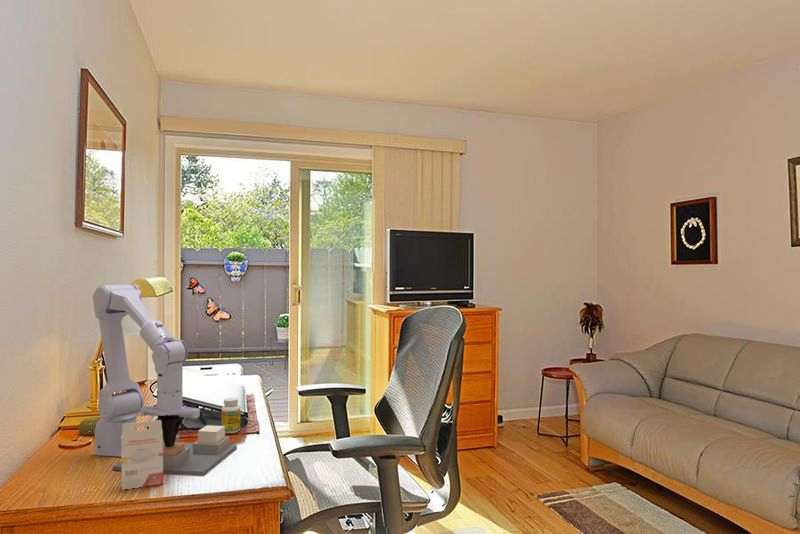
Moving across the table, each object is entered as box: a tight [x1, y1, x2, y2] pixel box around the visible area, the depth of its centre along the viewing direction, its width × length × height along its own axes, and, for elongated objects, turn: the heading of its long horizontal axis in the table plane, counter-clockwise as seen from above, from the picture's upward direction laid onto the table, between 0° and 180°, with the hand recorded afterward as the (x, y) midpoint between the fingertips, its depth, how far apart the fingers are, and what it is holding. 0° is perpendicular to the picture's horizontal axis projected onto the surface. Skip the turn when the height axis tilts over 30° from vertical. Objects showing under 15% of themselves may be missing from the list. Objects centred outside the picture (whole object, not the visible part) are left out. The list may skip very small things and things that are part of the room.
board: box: [112, 434, 238, 477], centre depth 143 cm, size 23×19×4 cm
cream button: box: [197, 424, 226, 444], centre depth 147 cm, size 5×5×4 cm
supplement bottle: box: [221, 397, 241, 434], centre depth 166 cm, size 5×5×10 cm
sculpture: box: [77, 416, 102, 436], centre depth 164 cm, size 8×4×8 cm
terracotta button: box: [163, 442, 186, 456], centre depth 138 cm, size 5×5×4 cm
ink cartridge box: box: [120, 419, 164, 491], centre depth 127 cm, size 9×5×15 cm, turn 114°
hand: (169, 445), depth 138 cm, fingers closed, pressing on terracotta button
